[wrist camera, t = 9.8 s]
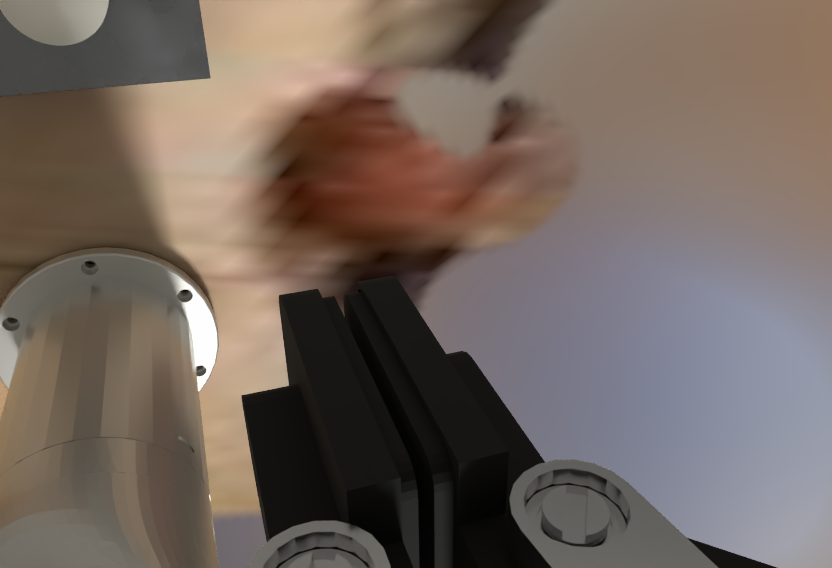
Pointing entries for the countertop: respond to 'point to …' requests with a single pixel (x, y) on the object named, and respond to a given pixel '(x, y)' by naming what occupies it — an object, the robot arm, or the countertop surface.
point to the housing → (110, 51)
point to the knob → (55, 19)
